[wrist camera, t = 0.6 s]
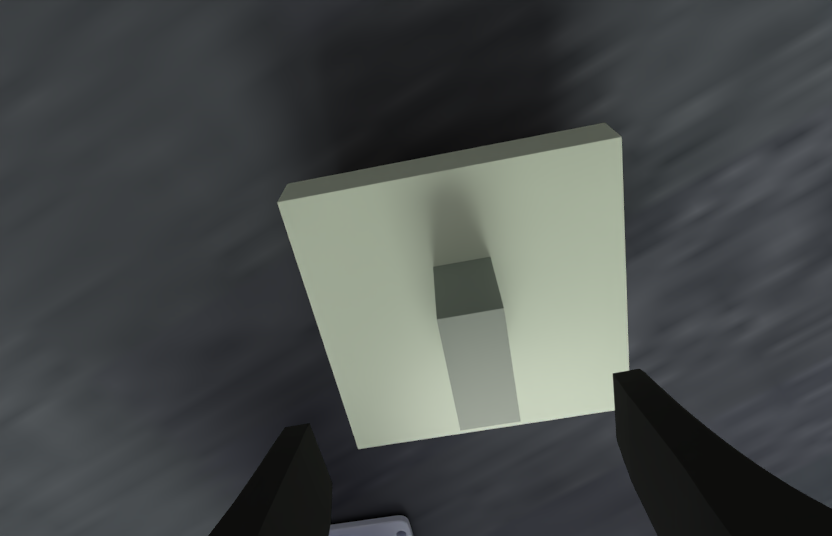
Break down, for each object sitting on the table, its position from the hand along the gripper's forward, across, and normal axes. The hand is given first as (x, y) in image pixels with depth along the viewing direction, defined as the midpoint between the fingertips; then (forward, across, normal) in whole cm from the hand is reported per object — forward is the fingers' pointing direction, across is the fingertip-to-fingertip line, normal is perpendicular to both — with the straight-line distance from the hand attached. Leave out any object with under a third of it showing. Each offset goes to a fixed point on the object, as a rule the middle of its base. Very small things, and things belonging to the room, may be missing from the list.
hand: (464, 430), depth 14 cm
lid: (+6, -1, +1) cm, 6 cm away
